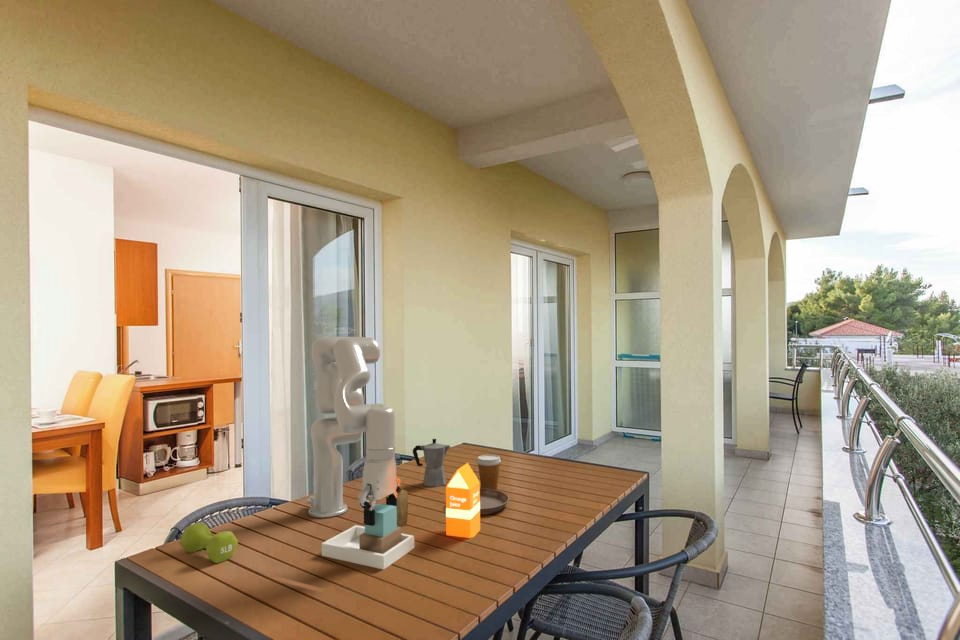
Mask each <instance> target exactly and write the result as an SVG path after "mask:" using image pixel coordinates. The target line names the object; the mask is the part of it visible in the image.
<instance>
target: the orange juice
mask: <svg viewBox="0 0 960 640" xmlns="http://www.w3.org/2000/svg"><path fill="white" fill-rule="evenodd" d="M480 489H481V483H480V479H479V478H478V476H477V475H476V474H475V472H474V471H473V469H472V468H471V465H470V464H469V462H466V463H465V464H464V465H462V466H461V467H459V468H458V469H456V472H454V473H453V475H452V477H451V479H450V480H449V482H448V483H447V485H446V487H445V532H446V534H445V535H446V536H452V537H458V538H459V537H460V538H468V539H471V538H475V536H476V535H477V534H478V533H479V532H480V531H481V515H480Z"/></svg>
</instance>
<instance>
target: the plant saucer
mask: <svg viewBox="0 0 960 640" xmlns="http://www.w3.org/2000/svg"><path fill="white" fill-rule="evenodd" d="M509 500H510V497H509V496H508V494H507V493H505V492H503V491H499V490H498V489H496V490H492V489H481V488H480V516H481V515H488V514H489V515H490V514H494V513H497V512H499V511H501V510H502V509H503V508H504V507H506V505H507V503H508V502H509Z"/></svg>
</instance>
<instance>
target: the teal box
mask: <svg viewBox="0 0 960 640" xmlns="http://www.w3.org/2000/svg"><path fill="white" fill-rule="evenodd" d="M373 509H374V510H375V525H374V526H370V525H365V524H364V527H365V534H370V535H375V536H381V537H384V536H386V535H388V534H389V533H391V532H392V531H394V530H396V529H397V527H398V525H397V506H391V505H386V503H376V504H375V506H374V508H373Z"/></svg>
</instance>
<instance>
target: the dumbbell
mask: <svg viewBox="0 0 960 640" xmlns="http://www.w3.org/2000/svg"><path fill="white" fill-rule="evenodd" d="M179 539H180V540H179V543H180V545H181V547H182V548H183V550H184V551H185V552H186V553H191V554H192V552H193V553H195V551H196V552H199V551H201V550H203V549H205V553H206V555H207V557H208V559H210V560H211V562H213V563H215V564H219V563H222V562H225V561H227V560H228V561H229V560H230V559H231V558H232V557H233V555H234V553H235V551H236V549H237V547H238V543H239V540H238V538H237V537H236V535H235V534H234V533H233V532H232V531H231V530H224V531H221V532H218V533H216V534H214V535H212V531H211V529H210V528H209V527H208V525H207V524H206V523H204V522H201V521H200V522H195V523H193V524H189V525H188V526H187V527H186V528H184V530H183V533H182V535H181V537H180V538H179ZM198 550H199V551H198Z"/></svg>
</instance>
